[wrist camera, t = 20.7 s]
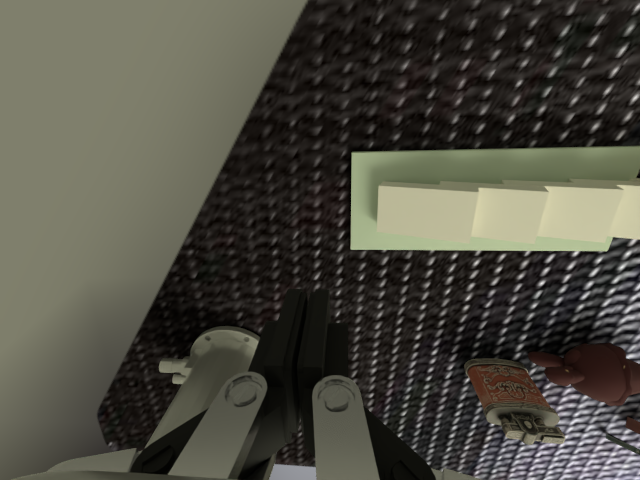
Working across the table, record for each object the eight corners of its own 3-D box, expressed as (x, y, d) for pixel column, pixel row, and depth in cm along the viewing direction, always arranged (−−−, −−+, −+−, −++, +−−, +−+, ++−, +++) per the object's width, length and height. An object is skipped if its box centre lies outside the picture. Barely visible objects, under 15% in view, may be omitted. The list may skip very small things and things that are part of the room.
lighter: (461, 374, 43) (492, 446, 34) (466, 356, 42) (500, 426, 32) (520, 379, 42) (568, 453, 33) (527, 361, 41) (579, 433, 32)
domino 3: (494, 232, 31) (604, 242, 28) (503, 184, 29) (624, 189, 26) (492, 225, 33) (596, 234, 30) (501, 179, 31) (614, 184, 28)
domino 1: (376, 231, 32) (469, 243, 29) (378, 185, 30) (478, 192, 27) (381, 225, 34) (469, 235, 30) (383, 181, 32) (478, 186, 28)
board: (350, 246, 36) (350, 249, 35) (351, 151, 32) (351, 152, 31) (601, 247, 34) (607, 251, 33) (640, 145, 29) (648, 146, 29)
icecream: (718, 370, 32) (559, 350, 34) (699, 433, 33) (547, 410, 35) (656, 338, 38) (527, 324, 41) (642, 391, 40) (517, 374, 42)
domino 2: (433, 232, 32) (534, 243, 28) (439, 185, 30) (549, 191, 26) (434, 225, 34) (530, 236, 30) (440, 180, 31) (544, 186, 28)
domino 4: (560, 231, 31) (682, 243, 27) (574, 183, 29) (708, 189, 25) (555, 224, 32) (670, 235, 29) (569, 178, 30) (693, 183, 27)
